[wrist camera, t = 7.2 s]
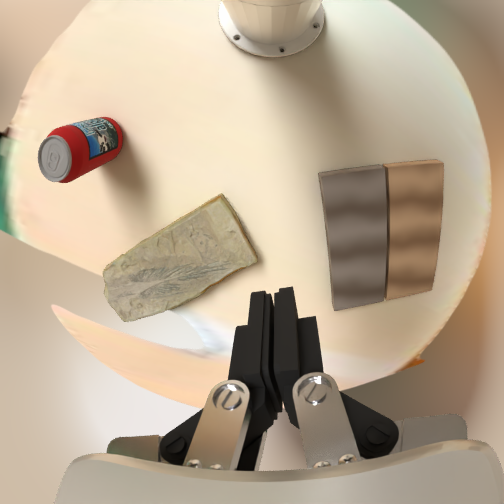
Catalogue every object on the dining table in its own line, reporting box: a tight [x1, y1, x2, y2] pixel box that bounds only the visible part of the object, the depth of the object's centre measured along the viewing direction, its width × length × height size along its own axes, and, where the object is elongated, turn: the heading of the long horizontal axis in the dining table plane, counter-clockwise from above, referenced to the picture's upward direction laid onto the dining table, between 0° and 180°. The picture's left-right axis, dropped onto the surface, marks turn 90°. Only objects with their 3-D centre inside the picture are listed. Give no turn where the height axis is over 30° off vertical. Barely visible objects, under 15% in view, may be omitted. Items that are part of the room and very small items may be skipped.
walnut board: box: [383, 160, 444, 300], centre depth 37 cm, size 22×9×2 cm, turn 13°
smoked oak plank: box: [318, 165, 387, 311], centre depth 38 cm, size 22×9×2 cm, turn 13°
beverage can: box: [38, 117, 123, 183], centre depth 28 cm, size 7×7×12 cm
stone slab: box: [103, 193, 258, 322], centre depth 43 cm, size 12×4×30 cm
